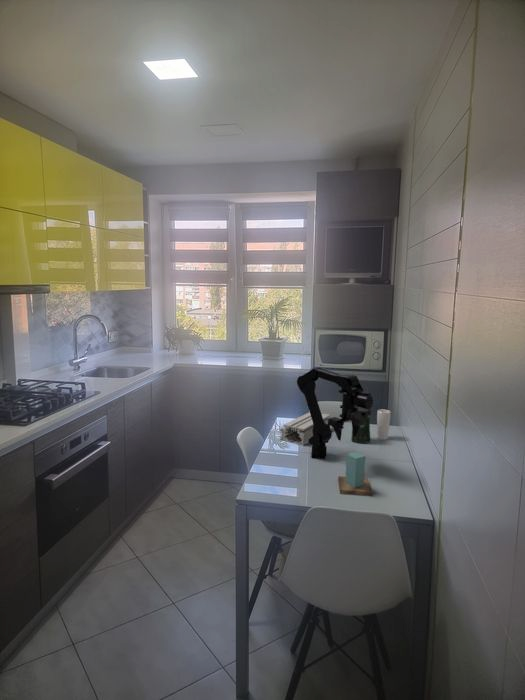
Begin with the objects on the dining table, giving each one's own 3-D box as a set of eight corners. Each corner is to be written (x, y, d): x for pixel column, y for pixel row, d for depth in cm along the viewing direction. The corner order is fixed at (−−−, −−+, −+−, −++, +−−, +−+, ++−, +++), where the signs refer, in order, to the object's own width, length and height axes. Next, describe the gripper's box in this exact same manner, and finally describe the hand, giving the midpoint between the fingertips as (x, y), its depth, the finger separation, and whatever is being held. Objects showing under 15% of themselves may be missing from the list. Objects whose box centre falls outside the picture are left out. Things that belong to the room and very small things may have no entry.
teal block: (354, 487, 167) (356, 458, 165) (345, 482, 171) (346, 454, 169) (363, 484, 169) (365, 456, 168) (354, 480, 173) (356, 451, 172)
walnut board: (339, 493, 165) (340, 489, 165) (338, 479, 177) (338, 476, 177) (371, 495, 164) (371, 492, 163) (367, 481, 175) (368, 478, 175)
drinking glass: (386, 441, 222) (388, 413, 220) (374, 438, 226) (375, 411, 224) (390, 437, 228) (392, 410, 226) (377, 435, 231) (379, 408, 229)
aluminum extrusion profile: (279, 440, 222) (279, 421, 220) (307, 425, 247) (307, 408, 245) (303, 446, 214) (303, 427, 212) (329, 430, 239) (330, 413, 237)
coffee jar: (370, 439, 224) (372, 405, 222) (368, 444, 217) (371, 409, 214) (352, 437, 228) (354, 403, 225) (349, 442, 220) (351, 407, 218)
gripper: (346, 411, 174) (344, 448, 176) (377, 405, 184) (375, 440, 187) (327, 405, 183) (326, 440, 186) (358, 399, 194) (357, 432, 196)
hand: (347, 438), depth 188 cm, fingers open, 9 cm apart
